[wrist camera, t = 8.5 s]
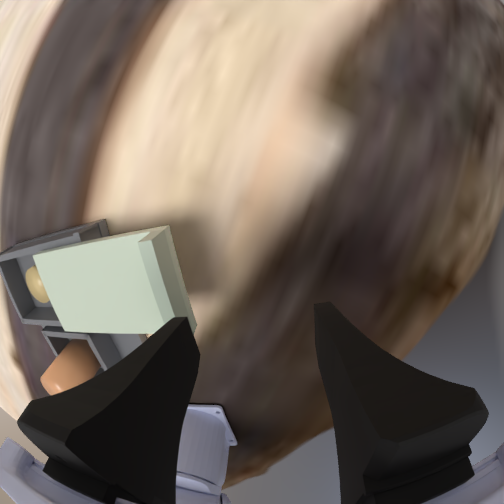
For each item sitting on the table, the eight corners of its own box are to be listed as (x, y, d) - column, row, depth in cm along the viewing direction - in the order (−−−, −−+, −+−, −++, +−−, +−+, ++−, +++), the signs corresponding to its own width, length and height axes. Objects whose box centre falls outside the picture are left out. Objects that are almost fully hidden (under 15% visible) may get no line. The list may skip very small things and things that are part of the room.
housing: (163, 372, 24) (152, 397, 21) (69, 363, 26) (57, 381, 23) (104, 218, 19) (79, 231, 15) (15, 243, 20) (-6, 255, 17)
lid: (196, 325, 17) (187, 350, 15) (69, 326, 18) (53, 343, 16) (169, 225, 15) (151, 240, 12) (38, 251, 16) (17, 265, 14)
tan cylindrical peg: (112, 363, 23) (83, 411, 17) (85, 359, 24) (55, 402, 17) (96, 332, 22) (60, 380, 15) (69, 330, 22) (33, 372, 16)
